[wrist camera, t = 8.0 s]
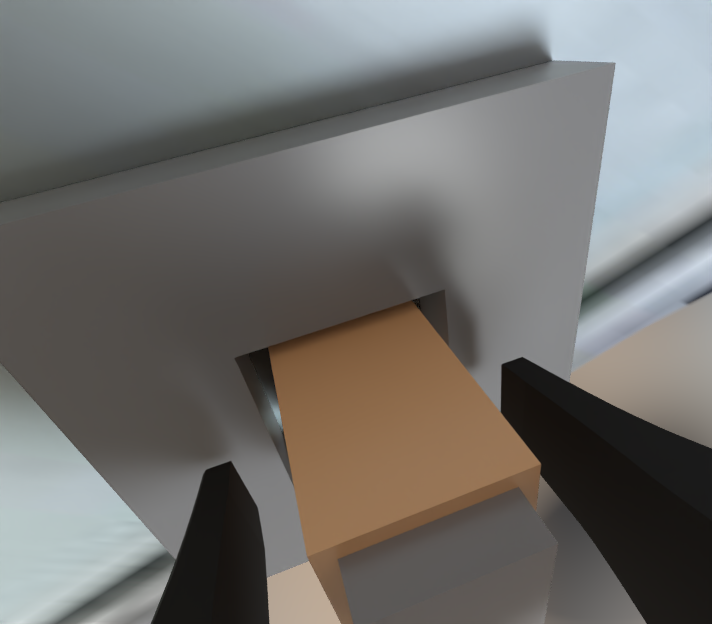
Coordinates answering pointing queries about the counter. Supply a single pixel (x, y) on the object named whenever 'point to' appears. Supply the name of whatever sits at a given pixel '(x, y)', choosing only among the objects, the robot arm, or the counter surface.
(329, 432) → the plug
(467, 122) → the socket plate
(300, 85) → the counter surface
